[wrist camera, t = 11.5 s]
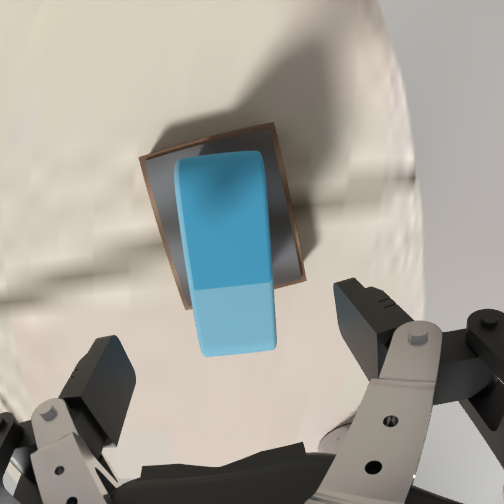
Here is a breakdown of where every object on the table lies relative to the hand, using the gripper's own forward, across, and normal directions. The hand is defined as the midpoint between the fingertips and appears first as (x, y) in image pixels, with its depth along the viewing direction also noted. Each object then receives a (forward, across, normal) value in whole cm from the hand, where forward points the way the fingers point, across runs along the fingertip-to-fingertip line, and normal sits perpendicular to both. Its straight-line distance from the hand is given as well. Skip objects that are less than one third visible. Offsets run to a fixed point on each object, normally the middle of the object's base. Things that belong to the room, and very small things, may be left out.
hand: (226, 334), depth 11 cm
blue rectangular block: (+18, 0, 0) cm, 18 cm away
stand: (+22, 0, 0) cm, 22 cm away
